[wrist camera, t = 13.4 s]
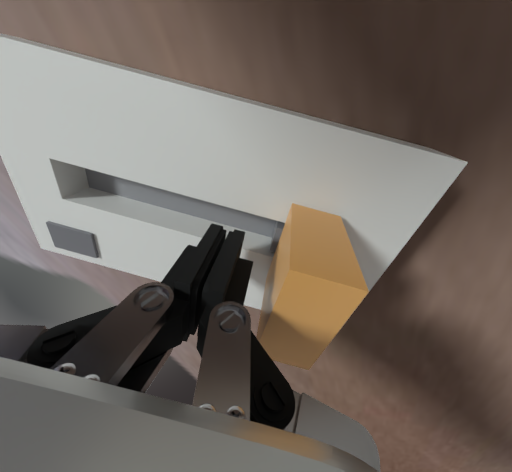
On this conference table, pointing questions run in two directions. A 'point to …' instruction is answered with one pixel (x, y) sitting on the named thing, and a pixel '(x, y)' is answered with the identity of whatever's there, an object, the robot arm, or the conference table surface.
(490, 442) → the conference table surface
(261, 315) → the orange slider handle
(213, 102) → the slider switch
